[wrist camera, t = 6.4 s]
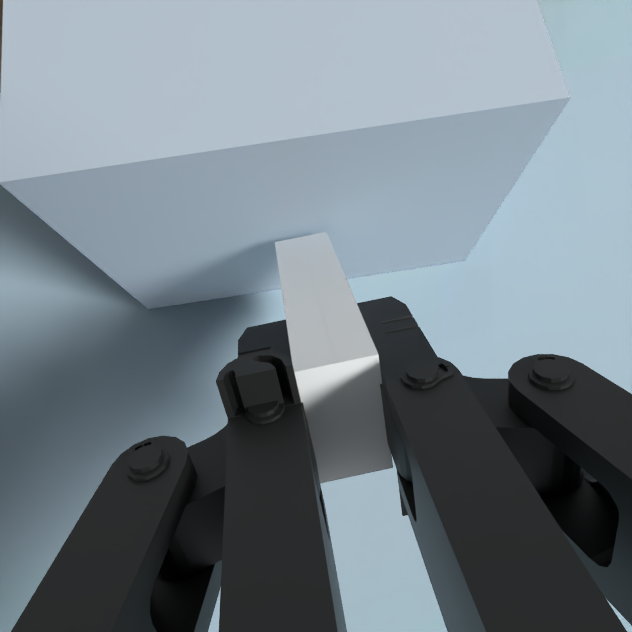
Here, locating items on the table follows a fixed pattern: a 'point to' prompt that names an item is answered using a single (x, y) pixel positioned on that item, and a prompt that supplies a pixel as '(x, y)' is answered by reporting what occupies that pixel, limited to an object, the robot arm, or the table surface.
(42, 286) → the table surface
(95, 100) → the white block
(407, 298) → the table surface
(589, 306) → the table surface
